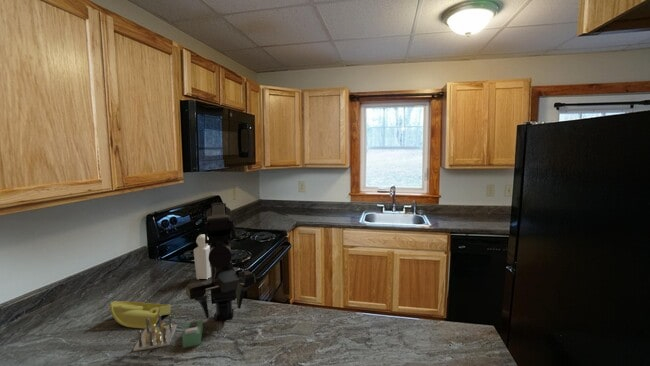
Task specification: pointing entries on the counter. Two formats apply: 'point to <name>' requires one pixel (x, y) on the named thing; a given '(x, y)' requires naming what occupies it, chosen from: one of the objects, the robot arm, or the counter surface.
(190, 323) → the green block
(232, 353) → the counter surface
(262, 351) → the counter surface
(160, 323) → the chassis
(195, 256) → the white peg figure
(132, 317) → the plastic component
